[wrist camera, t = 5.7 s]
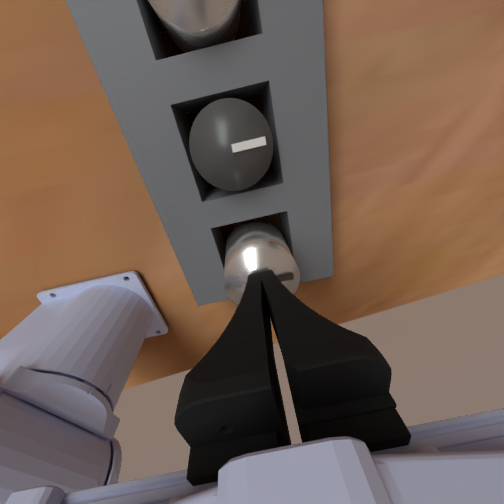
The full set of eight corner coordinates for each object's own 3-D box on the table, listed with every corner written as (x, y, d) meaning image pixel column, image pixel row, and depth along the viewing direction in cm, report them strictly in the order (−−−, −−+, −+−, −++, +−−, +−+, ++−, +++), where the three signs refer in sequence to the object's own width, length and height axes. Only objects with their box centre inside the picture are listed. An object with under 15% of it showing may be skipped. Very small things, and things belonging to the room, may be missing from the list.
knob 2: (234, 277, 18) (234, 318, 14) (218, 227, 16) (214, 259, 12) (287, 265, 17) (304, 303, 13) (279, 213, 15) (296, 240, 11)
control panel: (203, 277, 21) (197, 305, 18) (76, -54, 11) (4, -141, 8) (316, 252, 21) (333, 276, 17) (287, -111, 11) (313, -231, 7)
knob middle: (211, 184, 17) (204, 199, 13) (191, 117, 14) (175, 109, 10) (268, 170, 16) (279, 181, 12) (256, 101, 14) (265, 87, 10)
